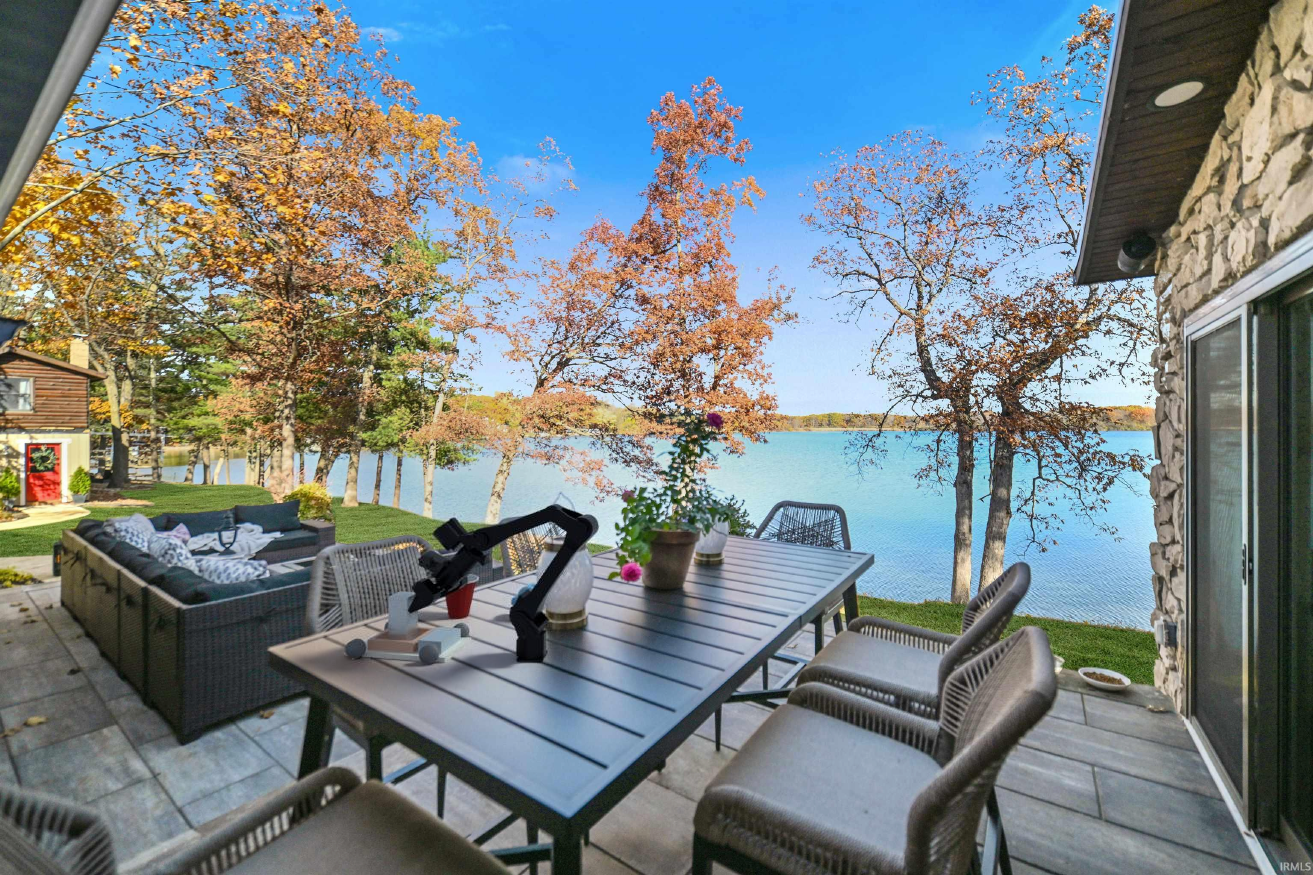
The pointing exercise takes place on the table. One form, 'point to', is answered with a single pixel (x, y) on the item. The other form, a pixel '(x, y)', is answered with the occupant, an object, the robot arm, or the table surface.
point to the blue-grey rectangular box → (402, 617)
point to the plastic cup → (461, 599)
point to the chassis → (413, 645)
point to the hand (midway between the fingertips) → (419, 606)
